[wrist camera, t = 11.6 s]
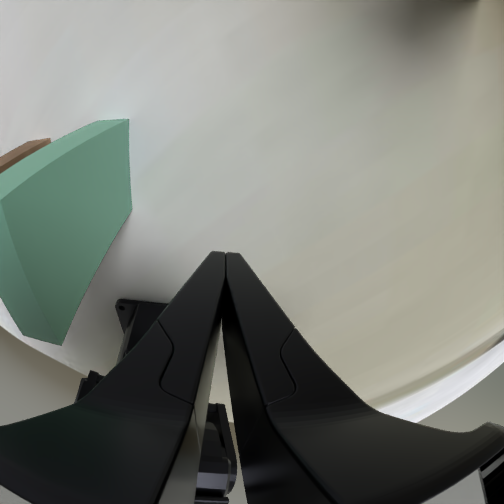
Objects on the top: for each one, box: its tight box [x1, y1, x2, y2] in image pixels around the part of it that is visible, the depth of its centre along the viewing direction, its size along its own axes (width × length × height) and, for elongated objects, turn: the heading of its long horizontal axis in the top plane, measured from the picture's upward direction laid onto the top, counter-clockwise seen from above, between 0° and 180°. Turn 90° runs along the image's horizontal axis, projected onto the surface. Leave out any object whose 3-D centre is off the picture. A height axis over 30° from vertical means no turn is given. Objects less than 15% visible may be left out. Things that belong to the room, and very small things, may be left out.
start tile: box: [0, 119, 132, 346], centre depth 9 cm, size 2×5×9 cm, turn 172°
